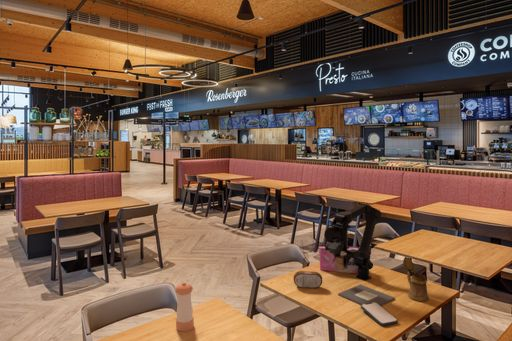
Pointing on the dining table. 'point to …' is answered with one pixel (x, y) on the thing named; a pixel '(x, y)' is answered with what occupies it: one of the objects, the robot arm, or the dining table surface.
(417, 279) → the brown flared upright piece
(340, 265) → the block
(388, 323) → the phone case
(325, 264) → the gum box
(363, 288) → the mat
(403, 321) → the dining table surface
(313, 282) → the portable speaker
